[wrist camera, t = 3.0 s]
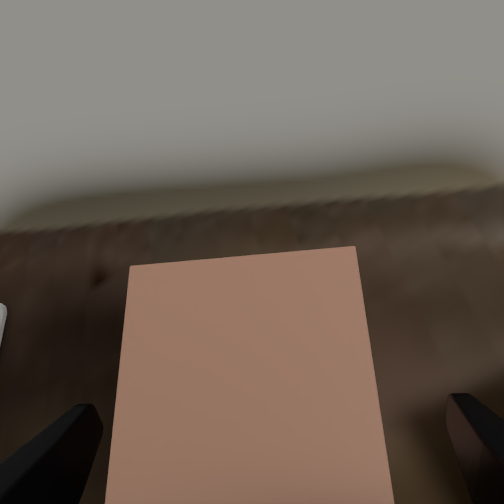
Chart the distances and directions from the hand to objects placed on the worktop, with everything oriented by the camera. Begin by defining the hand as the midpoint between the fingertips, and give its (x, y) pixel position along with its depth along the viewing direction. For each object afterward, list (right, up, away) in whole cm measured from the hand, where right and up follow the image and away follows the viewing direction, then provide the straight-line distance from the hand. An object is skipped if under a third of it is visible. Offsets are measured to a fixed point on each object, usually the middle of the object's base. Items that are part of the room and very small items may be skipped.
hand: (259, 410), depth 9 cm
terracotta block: (+1, -2, +8) cm, 8 cm away
